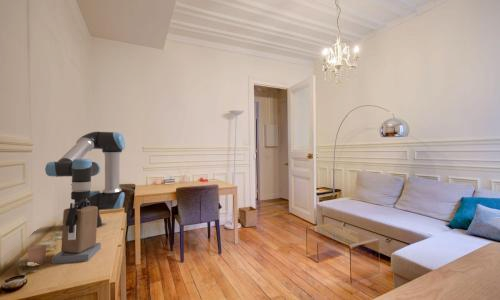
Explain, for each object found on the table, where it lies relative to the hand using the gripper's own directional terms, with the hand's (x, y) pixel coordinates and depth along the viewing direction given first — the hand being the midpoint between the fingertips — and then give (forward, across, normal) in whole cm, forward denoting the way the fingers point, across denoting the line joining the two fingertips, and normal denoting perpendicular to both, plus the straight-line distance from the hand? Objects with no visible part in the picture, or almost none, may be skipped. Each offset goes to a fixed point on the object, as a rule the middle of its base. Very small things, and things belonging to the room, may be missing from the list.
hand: (79, 234), depth 108 cm
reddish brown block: (+10, +5, -14) cm, 18 cm away
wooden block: (+7, 0, 0) cm, 7 cm away
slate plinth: (+10, 0, 0) cm, 10 cm away
